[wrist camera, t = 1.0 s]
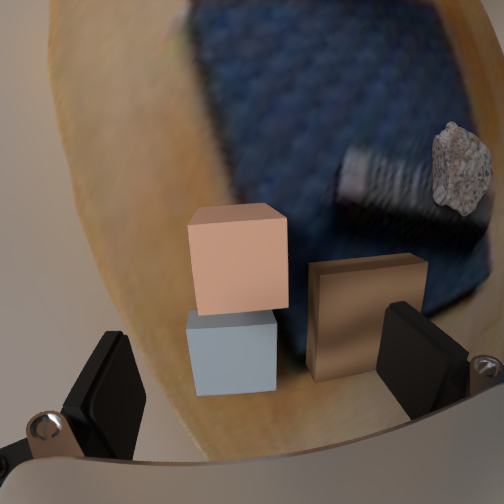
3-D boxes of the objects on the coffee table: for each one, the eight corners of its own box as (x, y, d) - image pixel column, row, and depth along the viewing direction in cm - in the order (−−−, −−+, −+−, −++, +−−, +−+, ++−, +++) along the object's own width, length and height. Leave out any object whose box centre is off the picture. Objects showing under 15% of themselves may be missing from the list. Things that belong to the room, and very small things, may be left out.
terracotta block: (198, 207, 26) (187, 225, 18) (264, 202, 27) (286, 217, 18) (204, 271, 28) (198, 315, 19) (267, 266, 28) (288, 307, 20)
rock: (428, 213, 29) (451, 220, 25) (425, 118, 26) (448, 114, 22) (475, 211, 30) (497, 217, 26) (473, 128, 27) (496, 127, 23)
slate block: (189, 309, 29) (186, 329, 25) (269, 304, 30) (276, 323, 26) (198, 372, 31) (197, 395, 27) (269, 367, 32) (275, 389, 28)
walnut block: (307, 261, 29) (320, 275, 25) (407, 251, 30) (428, 262, 26) (305, 361, 32) (314, 382, 29) (394, 343, 33) (410, 360, 30)
